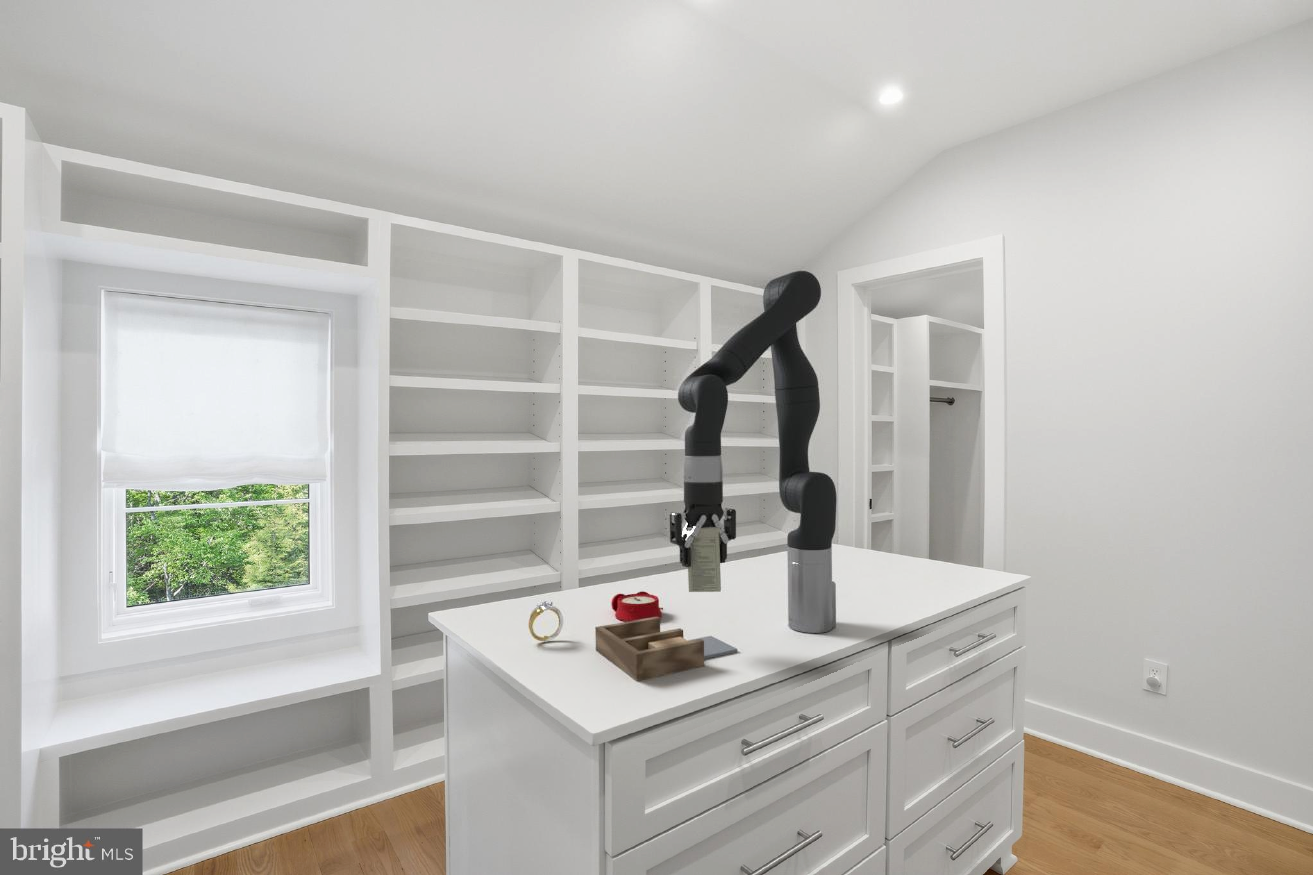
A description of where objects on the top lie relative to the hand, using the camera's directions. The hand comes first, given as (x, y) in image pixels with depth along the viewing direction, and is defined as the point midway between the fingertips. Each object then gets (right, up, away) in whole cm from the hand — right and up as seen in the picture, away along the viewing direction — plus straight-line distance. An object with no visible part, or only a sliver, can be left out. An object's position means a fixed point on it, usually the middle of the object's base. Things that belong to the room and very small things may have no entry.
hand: (703, 564), depth 119 cm
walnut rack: (-10, -16, -4) cm, 20 cm away
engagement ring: (-31, -17, +5) cm, 36 cm away
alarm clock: (-14, -17, +24) cm, 33 cm away
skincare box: (0, -5, 0) cm, 5 cm away
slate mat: (0, -16, 0) cm, 16 cm away
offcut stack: (-6, -17, -7) cm, 19 cm away
